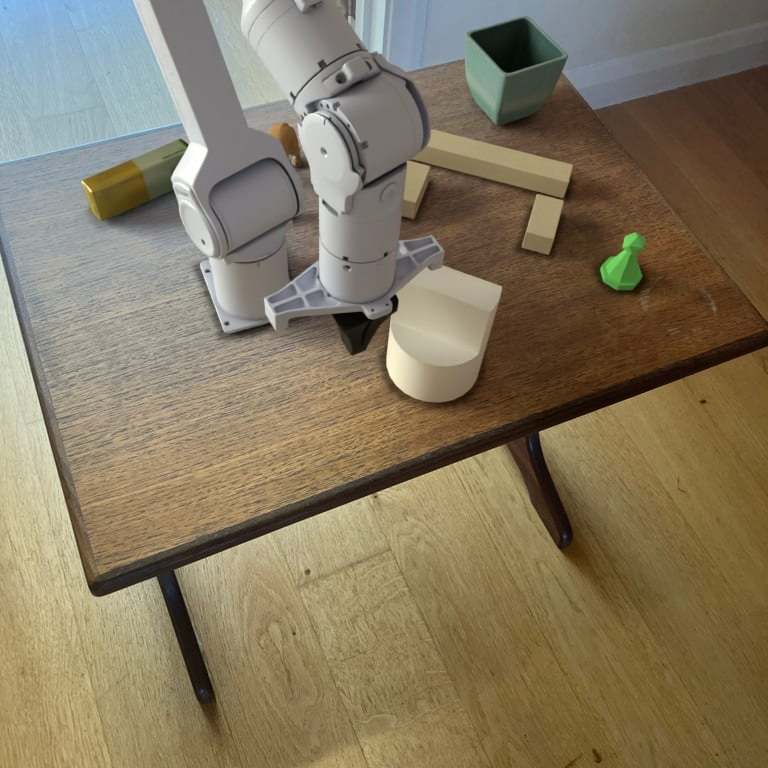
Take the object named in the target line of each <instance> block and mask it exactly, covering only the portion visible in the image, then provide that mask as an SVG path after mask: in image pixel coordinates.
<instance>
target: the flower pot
mask: <svg viewBox="0 0 768 768" xmlns="http://www.w3.org/2000/svg"><path fill="white" fill-rule="evenodd" d="M568 59H569V54H568V53H567V52H566V51H565V50H564V49H563V48H562V47H561V46H560V45H559V44H557V43H556V42H555V40H554V39H552V37H550V36H549V35H548V34H547V33H546V32H545V31H544V30H543V29H542V28H541V27H540V26H539V25H538V24H537V23H536V22H535V21H534V20H533V19H532V18H531V17H529V16H528V15H521V16H517V17H515V18H511V19H507V20H505V21H500V22H498V23H494V24H491V25H487V26H483V27H480V28H476V29H473V30H469V31H467V32H466V33H465V34H464V73H465V78H466V82H467V86H468V89H469V92H470V94H471V95H472V98H473V99H474V102H475V103H476V105H477V106H479V108H480V109H481V110H482V111H483V112H484V113H485V115H486V116H487V117H488V118H489V120H490V121H492V123H493V124H494V125H495V126H503V125H505V124H508V123H512V122H514V121H517V120H521V119H524V118H528V117H530V116H532V115H533V114H535V112H537V111H538V110H539V109H540V108H541V107H543V105H544V104H545V103H546V102H547V101H548V100H549V98H550V97H551V96H552V94H553V92H554V91H555V89H556V87H557V84H558V82H559V80H560V78H561V75H562V73H563V70H564V68H565V66H566V64H567V61H568Z"/></svg>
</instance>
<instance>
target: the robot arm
mask: <svg viewBox="0 0 768 768" xmlns="http://www.w3.org/2000/svg"><path fill="white" fill-rule="evenodd" d="M241 1H242V9H241V17H240V18H241V19H240V30H241V32H242V34H243V36H244V38H245V39H246V41H247V42H248V43H249V45H250V46H251V47H252V49H253V51H254V53H255V54H256V55H257V56H258V58H259V60H260V61H261V62H262V64H263V65H264V67H265V68H266V69H267V72H268V73H269V74H270V76H271V77H272V78H273V80H274V81H275V83H276V85H277V86H278V87H279V89H280V91H281V92H282V93H283V95H284V96H285V98H286V100H287V101H288V102H289V103H290V105H291V106H292V108H293V109H294V111H295V112H296V114H297V116H298V117H299V119H300V120H301V123H300V122H298V123H297V124H296V125H297V133H298V138H299V141H300V145H301V148H302V151H303V154H304V155H305V157H306V160H307V162H308V165H309V171H310V183H311V184H312V187H313V191H314V193H315V194H316V195H318V243H319V244H318V245H319V246H318V260H316V261H315V262H314V263H312V265H310V266H309V267H308V268H306V269H305V270H304V271H302V273H300V274H299V275H297V277H295V278H294V279H293V280H291V278H290V276H289V262H288V247H287V234H288V233H289V232H290V230H292V229H293V218H297V217H298V216H300V215H302V213H303V212H304V210H305V203H306V202H305V200H306V196H305V195H306V194H305V188H304V185H303V182H302V180H301V178H300V176H299V174H298V172H297V170H296V168H295V166H294V165H293V164H292V162H291V161H290V158H289V159H288V157H287V155H286V153H285V150H284V148H283V146H282V144H281V141H280V140H278V139H277V138H276V137H274V136H272V135H271V134H269V132H266V131H263V130H259V129H256V128H253V127H249V125H248V122H247V118H246V117H245V113H244V110H243V108H242V105H241V102H240V100H239V97H238V94H237V92H236V88H235V86H234V83H233V81H232V78H231V74H230V71H229V69H228V67H227V64H226V63H227V62H226V61H225V57H224V55H223V52H222V49H221V47H220V43H219V42H218V39H217V36H216V33H215V31H214V27H213V25H212V22H211V18H210V16H209V13H208V10H207V7H206V4H205V3H204V0H132V2H133V5H134V7H135V10H136V12H137V14H138V15H137V16H138V17H139V19H140V22H141V25H142V27H143V30H144V31H145V34H146V38H147V40H148V41H149V44H150V46H151V49H152V51H153V52H152V53H153V54H154V57H155V59H156V62H157V64H158V66H159V69H160V71H161V74H162V76H163V79H164V81H165V84H166V86H167V89H168V91H169V93H170V96H171V98H172V101H173V103H174V107H175V109H176V111H177V113H178V116H179V118H180V121H181V123H182V125H183V128H184V131H185V133H186V136H187V138H188V140H189V143H188V144H189V146H188V148H187V150H186V151H185V153H184V155H183V157H182V159H181V160H180V162H179V164H178V165H177V167H176V169H175V171H174V172H173V175H172V177H171V181H172V183H173V189H174V190H173V191H174V194H175V198H176V201H177V203H178V212H179V216H180V219H181V222H182V225H183V227H184V229H185V232H187V235H188V236H189V237H190V239H191V241H192V242H193V244H194V245H195V246H196V247H197V248H198V249H199V251H201V253H203V254H204V255H206V256H207V257H208V259H206V260H202V261H200V263H199V267H200V271H201V273H202V276H203V279H204V281H205V283H206V287H207V289H208V292H209V295H210V297H211V300H212V303H213V306H214V309H215V311H216V314H217V316H218V319H219V322H220V325H221V328H222V330H223V332H224V333H225V334H227V335H229V334H234V333H237V332H240V331H244V330H248V329H252V328H255V327H259V326H263V325H267V324H271V326H272V327H273V329H274V331H275V332H277V333H278V332H280V331H283V330H285V329H288V328H289V320H292V319H295V318H298V317H299V318H300V317H301V318H302V317H310V316H321V315H322V316H323V315H324V316H325V315H330V316H331V317H332V319H333V320H334V322H335V323H336V326H337V329H338V332H339V336H340V341H341V342H342V344H343V345H344V347H345V349H346V350H347V351H348V353H349V355H350V356H351V357H352V356H355V355H356V356H357V355H358V354H361V353H362V352H365V351H366V350H367V348H368V347H369V344H370V342H371V341H372V339H373V337H374V336H375V334H376V333H377V331H378V329H379V328H380V327H381V326H382V325H383V324H384V322H385V321H386V320H387V319H389V318H390V317H391V315H392V314H393V313H395V312H397V310H398V303H399V300H398V297H397V295H396V293H397V292H398V291H399V290H401V289H402V288H403V287H404V286H405V285H406V284H407V283H409V282H410V281H411V280H412V279H413V278H414V277H416V276H417V275H418V274H419V273H420V272H421V271H422V270H424V269H425V268H426V267H428V269H429V270H431V271H434V270H436V269H439V268H441V267H442V265H443V263H444V257H445V252H446V251H445V249H444V248H443V246H442V245H441V244H440V243H439V241H438V240H437V239H436V238H435V236H434V234H430V235H427V236H423V237H420V238H414V239H413V238H412V239H405V240H402V239H401V240H400V234H401V225H402V217H403V216H402V207H403V199H404V190H405V181H406V172H407V161H411V160H412V159H411V158H413V157H415V156H416V155H417V154H418V153H419V152H421V151H423V150H424V149H425V148H426V147H427V145H428V143H429V140H430V136H431V129H432V121H431V116H430V111H429V109H428V106H427V102H426V101H425V98H424V96H423V94H422V93H421V91H420V89H419V87H418V85H417V83H416V81H415V80H414V78H413V77H412V76H411V74H409V73H408V72H407V71H405V70H404V69H403V68H401V67H399V66H397V65H395V64H392V63H390V62H389V61H388V60H387V59H386V57H385V56H384V55H383V54H382V53H379V52H378V50H376V51H373V52H369V50H368V49H367V47H366V46H365V44H364V43H363V42H362V40H361V38H360V37H359V35H358V34H357V33H356V31H355V29H354V28H353V27H352V25H351V24H350V22H349V21H348V18H346V16H345V15H344V13H343V12H342V10H341V8H339V5H337V2H336V1H335V0H241Z"/></svg>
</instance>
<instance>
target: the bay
mask: <svg viewBox="0 0 768 768" xmlns="http://www.w3.org/2000/svg"><path fill="white" fill-rule="evenodd" d="M415 161H417V162H415ZM419 162H421V163H419ZM427 164H428V165H427ZM430 165H432V166H436V167H440V168H444V169H448V170H451V171H456V172H459V173H463V174H467V175H470V176H475V177H477V178H478V177H479V178H483V179H487V180H490V181H494V182H498V183H501V184H505V185H509V186H514V187H518V188H522V189H525V190H529V191H533V192H537V194H536V196H535V200H534V203H533V206H532V209H531V213H530V216H529V221H528V224H527V227H526V229H525V230H526V231H525V234H524V237H523V241H522V245H521V248H522V249H525V250H528V251H532V252H535V253H539V254H544V255H550V252H551V250H552V247H553V244H554V241H555V237H556V233H557V231H558V226H559V222H560V218H561V214H562V210H563V207H564V202H565V201H564V200H563V199H564V198H565V195H566V192H567V189H568V187H569V184H570V180H571V175H572V172H573V169H574V164H572V163H568V162H565V161H560V160H556V159H552V158H548V157H545V156H540V155H538V154H537V155H536V154H533V153H528V152H525V151H521V150H517V149H513V148H508V147H506V146H505V147H504V146H501V145H498V144H493V143H488V142H484V141H481V140H477V139H473V138H469V137H464V136H462V135H461V136H460V135H457V134H453V133H449V132H445V131H442V130H437V129H433V128H431V136H430V140H429V143H428V145H427V147H426V148H425V149H424V150H423V151H421V152H419V153H418V154H417V155H416V156H415V157H413V158H411V159H410V160H408V161H407V172H406V181H405V190H404V199H403V207H402V216H401V217H403V218H408V219H412V220H415V218H416V216H417V213H418V210H419V207H420V205H421V203H422V200H423V198H424V195H425V192H426V190H427V188H428V185H429V182H430V175H431V168H432V167H431V166H430ZM539 193H541V194H539ZM544 194H545V195H544ZM547 195H548V196H547ZM551 196H552V197H551Z"/></svg>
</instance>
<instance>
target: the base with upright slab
mask: <svg viewBox="0 0 768 768" xmlns="http://www.w3.org/2000/svg"><path fill="white" fill-rule="evenodd" d="M502 291H503V286H502V285H499V284H497V283H493V282H490V281H488V280H485V279H482V278H480V277H477V276H473V275H471V274H468V273H466V272H462V271H459V270H457V269H454V268H452V267H449V266H445V265H443V264H442V267H441V268H439V269H436V270H434V271H431V270H429V269H428V267H426V268H425V269H424V270H422V271H421V272H420V273H419V274H418V275H417V276H416V277H414V278H413V279H412V280H411V281H410V282H409V283H407V284H406V285H405V286H404V287H403V288H402V289H401V290H399V291H398V292H397V293H396V295H397V297H398V300H399V303H398V310H397V312H395V313H393V314H392V315H391V316H390V322H389V331H388V341H387V350H386V369H387V372H388V376H389V378H390V379H391V381H392V382H393V383H394V385H395V386H396V387H397V388H398V389H399V390H401V391H402V392H403V394H405V395H408V396H409V397H411V398H413V399H415V400H419V401H421V402H426V403H446V402H450V401H451V402H452V401H455V400H456V399H457V398H461V397H462V396H464V395H465V394H466V393H467V392H469V391H470V390H471V389H472V388H473V386H474V385H475V383H476V382H477V379H478V377H479V373H480V371H481V366H482V363H483V359H484V355H485V352H486V348H487V345H488V342H489V339H490V335H491V332H492V327H493V324H494V320H495V317H496V313H497V310H498V307H499V303H500V300H501V296H502Z"/></svg>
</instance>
